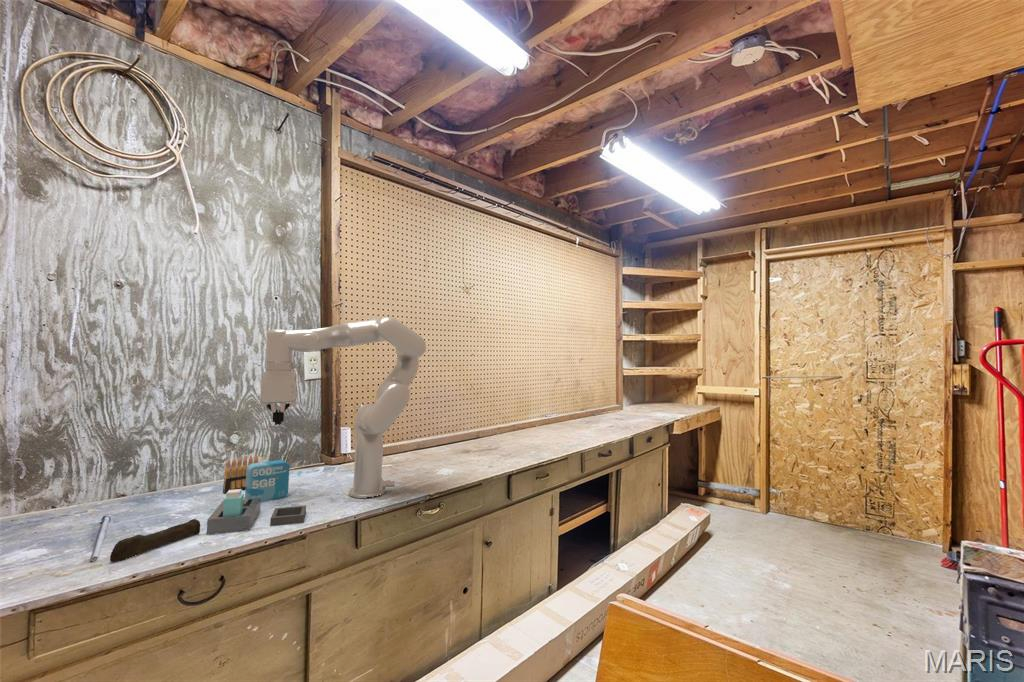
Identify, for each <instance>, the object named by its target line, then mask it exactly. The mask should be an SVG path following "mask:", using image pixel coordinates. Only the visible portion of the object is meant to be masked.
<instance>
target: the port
mask: <svg viewBox="0 0 1024 682" xmlns="http://www.w3.org/2000/svg"><path fill="white" fill-rule="evenodd" d="M223 503H224V500H222V501H221V503H220V504H219V505H218V506H217V508H216V509H215V510H214V511H213V512H212V514H210V516H209V517H208V518H207V519H206V520H207V521H206V535H207V534H209V535H216V534H215V533H219V534H226V533H225V532H229V533H237V531H239V532H246V530H248V531H250V530H251V529H250V528H252V527H253V525H254V524H255V521H256V520H257V518H256V517H258V516H259V513H260V512H261V504H262V502H261V498H251V499H246V497H245V496H244V497H243V514H242V515H239V516H228V517H223ZM255 519H256V520H255Z"/></svg>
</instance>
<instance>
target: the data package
mask: <svg viewBox="0 0 1024 682" xmlns="http://www.w3.org/2000/svg"><path fill="white" fill-rule="evenodd" d="M289 479H290V463H288V462H287V461H285V460H283V459H278V460H273V461H272V460H271V461H261V462H258V463H254V462H253V464H250V465H249V466H248V465H247V470H246V487H245V490H244V497H246V499H251V498H261V503H262V502H267V501H272V500H279V499H284V498H285V497H287V496H288V494H289V485H290V484H289V482H290V481H289Z"/></svg>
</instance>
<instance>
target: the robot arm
mask: <svg viewBox="0 0 1024 682" xmlns="http://www.w3.org/2000/svg"><path fill="white" fill-rule="evenodd" d="M381 342H387V343H389V344H390V345H392V346H393V347H394V349H395V354H396V359H397V360H396V363H395V366H394V367H393V368H392V369H391V371H390V372H389V374H388V375H387V377H385V379H384V380H383V381H382V382H381V383H380V385H379V386H378V388H377V390H376V392H375V396H376V397H375V398H376V399H377V400H376V401H375V403H366V404H364V405H362V406H360V407H359V408H358V410H357V411H356V413H355V417H354V428H355V429H354V430H355V432H354V433H355V435H354V436H355V447H354V464H353V465H354V466H353V468H354V469H353V486H352V488H350V489H348V496H349V497H350V498H354V499H355V498H356V499H368V498H367V497H372V498H375V497H374V496H377V495H380V494H382V495H384V494H385V493H386V488H387V487H389V488H393V487H394V488H395V486H396V482H395V481H394V480H391V479H389V480H385V479H383V477H382V474H383V454H384V433H386V432H387V431H388V430H389V429H390V428H391V427H392V426H393V424H394V423H395V421H396V420H397V419H398V417H399V416H400V415H401V414H402V412H403V411H404V410H405V408H406V407H407V405H408V403H409V401H410V398H411V393H410V392H411V391H410V389H409V387H410V385H411V383H412V382H413V380H415V377H416V376H417V374H418V371H419V366H420V365H419V364H420V362H419V361H420V360H419V358H420V357H422V356H423V355H424V354H425V352H426V349H427V343H426V341H425V339H424V338H423V337H422V335H420V334H418V333H417V332H415V331H414V330H413V329H411V328H410V327H408V326H407V325H405V324H403V323H402V322H401V321H399V320H397V319H396V318H393V317H391V316H386V317H385V316H384V317H381V318H374V319H373V318H371V319H365V320H360V321H359V320H358V321H350V322H349V321H348V322H344V323H339V324H337V325H331V326H326V327H320V328H314V329H313V328H312V329H306V328H305V329H296V330H290V329H280V328H279V329H278V328H277V329H269V330H268V331H267V333H266V355H265V356H266V358H265V359H266V362H265V371H263V373H262V374H263V375H262V378H261V383H260V384H261V385H260V397H259V398H260V401H259V404H258V405H259V407H262V408H267V409H269V411H271V412H272V423H274V426H277V425H279V426H280V425H282V423H284V419H285V411H286V410H287V409H289V407H294V406H297V405H298V401H297V395H298V394H297V392H298V390H297V377H296V372H295V371H293V369H297V368H298V364H297V363H294V362H293V358H294V357H293V355H294V351H295V352H301V353H310V352H314V351H318V350H319V351H320V350H325V349H332V348H349V347H355V346H360V345H361V346H362V345H367V344H374V343H375V344H376V343H381ZM279 403H281V404H280V408H279V410H278V408H277V404H279ZM384 492H385V493H384ZM383 493H384V494H383ZM380 496H381V495H380ZM377 497H378V496H377Z"/></svg>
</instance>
